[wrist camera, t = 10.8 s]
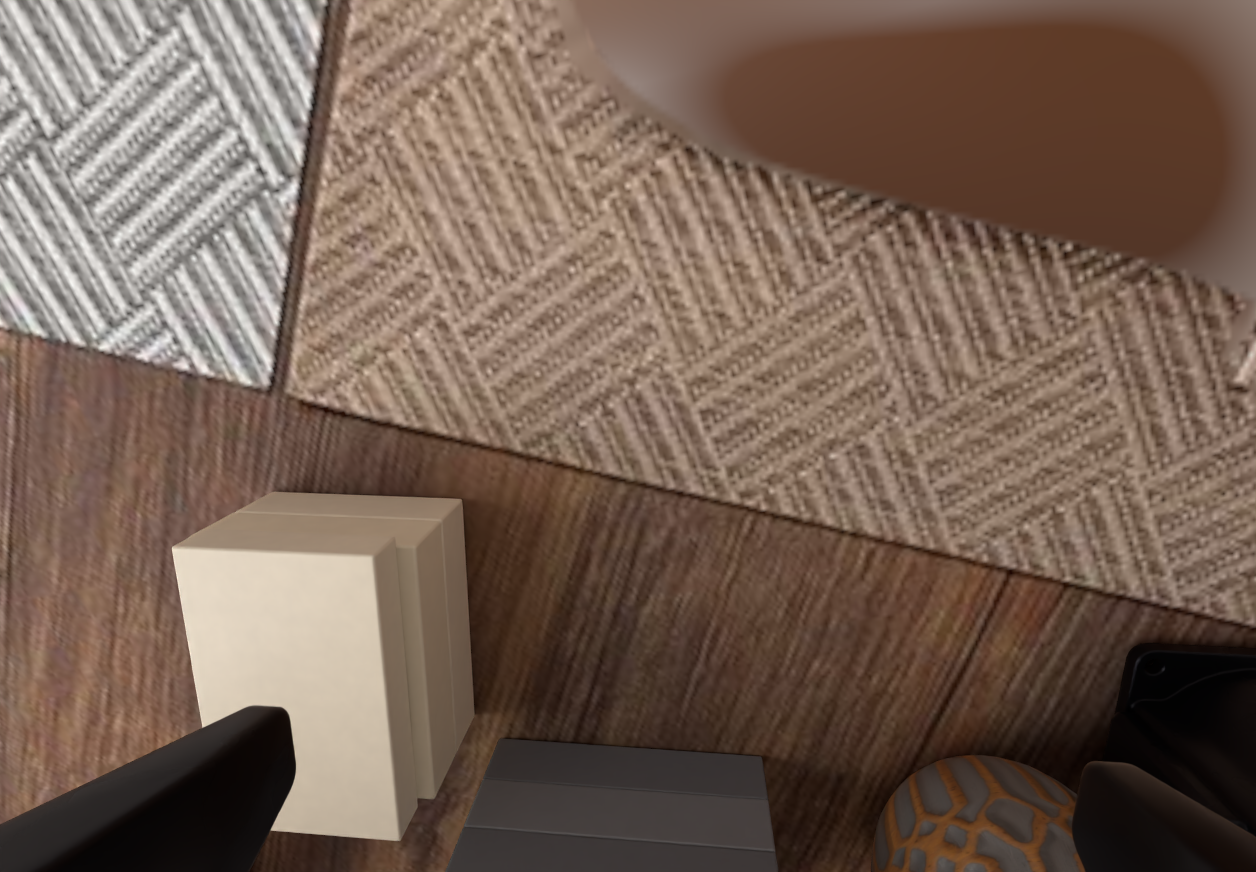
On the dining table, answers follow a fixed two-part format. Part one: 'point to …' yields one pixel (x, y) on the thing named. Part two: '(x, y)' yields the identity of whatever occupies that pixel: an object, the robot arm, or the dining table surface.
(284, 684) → the beige flat block
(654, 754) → the grey stack
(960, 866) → the vase
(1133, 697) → the robot arm
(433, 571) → the beige rectangular block
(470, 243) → the dining table surface
